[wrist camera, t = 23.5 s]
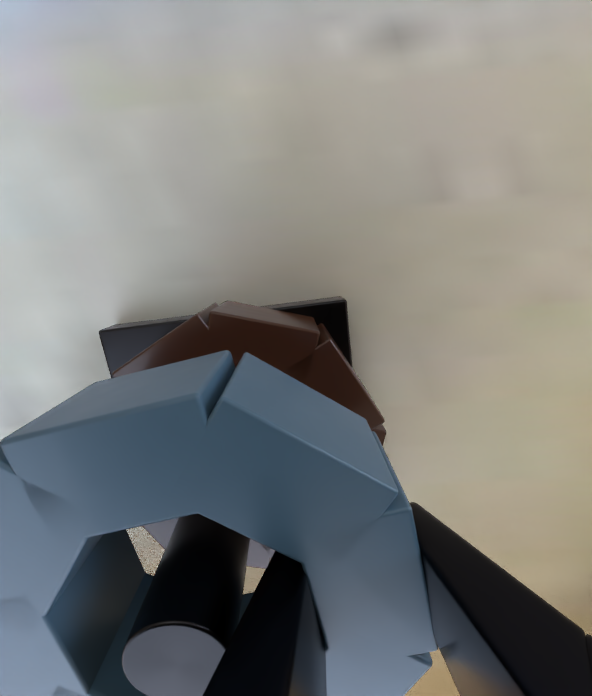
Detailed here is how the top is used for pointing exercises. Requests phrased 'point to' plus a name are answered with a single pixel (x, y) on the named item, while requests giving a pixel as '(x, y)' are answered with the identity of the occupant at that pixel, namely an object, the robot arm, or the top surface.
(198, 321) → the walnut ring
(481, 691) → the robot arm
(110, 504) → the slate ring
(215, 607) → the stand
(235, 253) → the top surface
